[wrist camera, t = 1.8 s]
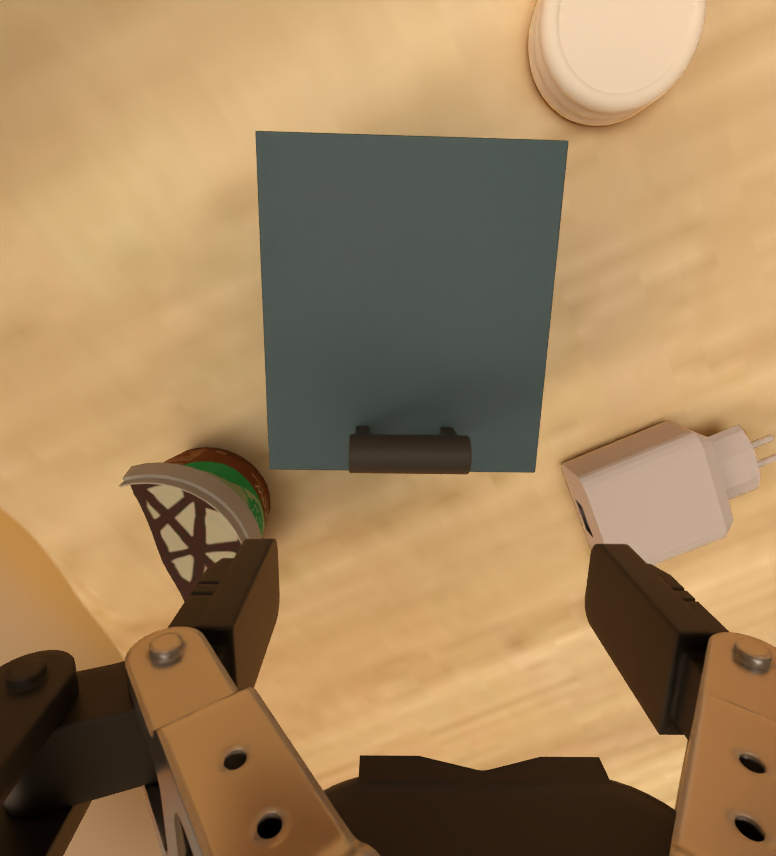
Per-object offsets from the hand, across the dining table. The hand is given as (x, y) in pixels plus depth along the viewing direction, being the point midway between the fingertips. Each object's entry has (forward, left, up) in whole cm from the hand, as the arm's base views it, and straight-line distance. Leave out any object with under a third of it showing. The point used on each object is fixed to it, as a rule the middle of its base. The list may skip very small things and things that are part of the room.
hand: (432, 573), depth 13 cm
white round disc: (+13, +23, -27) cm, 38 cm away
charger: (+22, -7, -27) cm, 35 cm away
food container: (-12, -9, -27) cm, 31 cm away
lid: (0, +6, -15) cm, 16 cm away
